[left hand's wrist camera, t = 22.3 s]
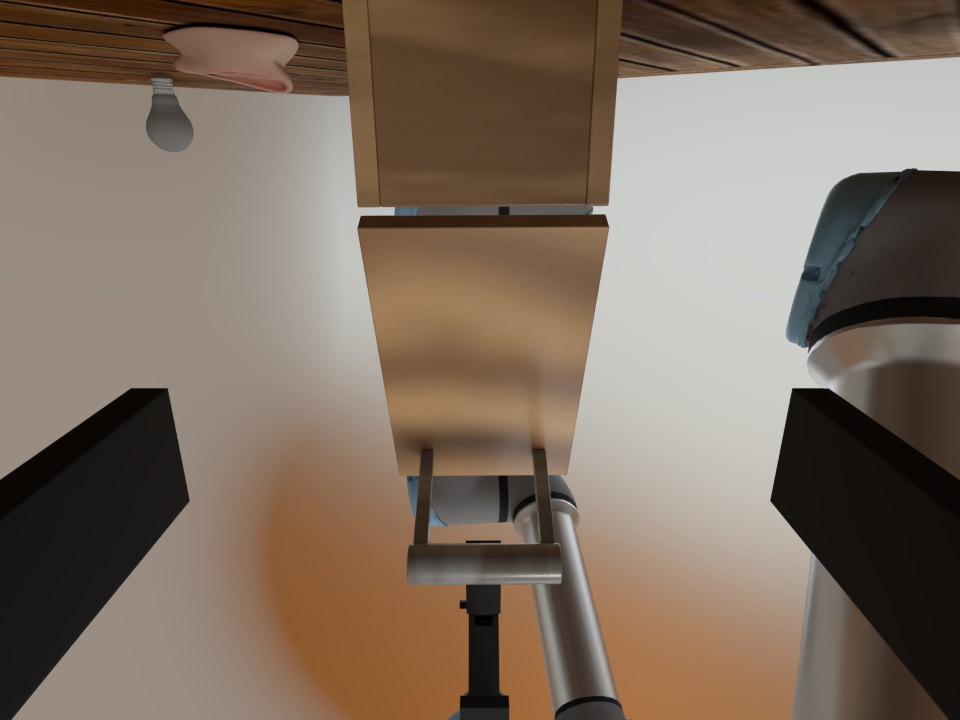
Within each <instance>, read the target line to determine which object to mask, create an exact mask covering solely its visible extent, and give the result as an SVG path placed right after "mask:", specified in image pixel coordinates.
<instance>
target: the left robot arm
mask: <svg viewBox="0 0 960 720" xmlns="http://www.w3.org/2000/svg"><path fill="white" fill-rule="evenodd" d="M786 337H787V339H788V340H789V341H790V342H792V343H796V344H798V345H799V346H801V347H802V348H806V347H809V350H808V357H807V367H808V371H809V374H810V376H811V377H812V378H813V380H814V381H815V382H816V383H817V384H818V385H819V386H820V387H822V388H793V389H792V393H791V398H790V403H789V408H788V413H787V419H786V423H785V429H784V434H783V439H782V444H781V449H780V454H779V459H778V464H777V469H776V474H775V479H774V485H773V490H772V495H771V500H770V501H771V502H772V504H773V505H774V506H775V507H776V508H777V510H778V511H779V512H780V513H781V515H782V516H783V517H784V518H785V520H786V521H787V522H788V523H789V524H790V526H791V527H792V528H793V529H794V531H795V532H796V533H797V534H798V536H799V537H800V538H801V539H802V540H803V542H804V543H805V544H806V545H807V546H808V548H809V549H810V550H811V551H812V553H811V562H810V571H809V579H808V587H807V595H806V604H805V612H804V621H803V629H802V637H801V646H800V654H799V662H798V671H797V679H796V688H795V696H794V704H793V713H792V720H960V172H958V171H922V170H917V169H914V168H912V169H906V170H904V171H902V172H881V173H858V174H855V175H852V176H849V177H847V178H845V179H843V180H841V181H839V182H838V183H837V184H836V185H835V186H834V187H833V188H832V190H831V191H830V193H829V194H828V196H827V198H826V201H825V204H824V206H823V209H822V211H821V214H820V217H819V220H818V223H817V226H816V229H815V232H814V235H813V238H812V241H811V244H810V247H809V251H808V254H807V257H806V261H805V265H804V271H803V273H802V275H801V278H800V282H799V285H798V288H797V290H796V294H795V297H794V301H793V304H792V308H791V312H790V316H789V320H788V324H787V329H786ZM189 501H190V500H189V495H188V490H187V485H186V480H185V474H184V469H183V464H182V459H181V454H180V449H179V444H178V439H177V434H176V429H175V423H174V418H173V413H172V408H171V403H170V398H169V393H168V389H167V388H131V389H130V390H128V391H127V392H125V393H124V394H122V395H121V396H119V397H118V398H117V399H115V400H114V401H112V402H111V403H109V404H108V405H107V406H105V407H104V408H102V409H101V410H99V411H98V412H97V413H95V414H94V415H92V416H91V417H89V418H88V419H87V420H85V421H84V422H82V423H81V424H79V425H78V426H77V427H75V428H74V429H72V430H71V431H69V432H68V433H67V434H65V435H64V436H62V437H61V438H59V439H58V440H56V441H55V442H54V443H52V444H51V445H49V446H48V447H47V448H45V449H44V450H42V451H41V452H39V453H38V454H36V455H35V456H34V457H32V458H31V459H29V460H28V461H27V462H25V463H24V464H22V465H21V466H19V467H18V468H16V469H15V470H14V471H12V472H11V473H9V474H8V475H6V476H5V477H4V478H2V479H1V480H0V720H12V718H13V717H14V716H15V715H16V713H17V712H18V711H19V710H20V709H21V707H22V706H23V705H24V704H25V702H26V701H27V700H28V699H29V697H30V696H31V695H32V694H33V693H34V691H35V690H36V689H37V688H38V686H39V685H40V684H41V683H42V682H43V680H44V679H45V678H46V677H47V675H48V674H49V673H50V672H51V670H52V669H53V668H54V667H55V666H56V664H57V663H58V662H59V661H60V659H61V658H62V657H63V656H64V654H65V653H66V652H67V651H68V650H69V648H70V647H71V646H72V645H73V644H74V642H75V641H76V640H77V639H78V637H79V636H80V635H81V634H82V632H83V631H84V630H85V629H86V627H87V626H88V625H89V624H90V623H91V621H92V620H93V619H94V618H95V617H96V615H97V614H98V613H99V611H100V610H101V609H102V608H103V607H104V605H105V604H106V603H107V602H108V601H109V599H110V598H111V597H112V596H113V594H114V593H115V592H116V591H117V590H118V588H119V587H120V586H121V585H122V583H123V582H124V581H125V580H126V578H127V577H128V576H129V575H130V574H131V572H132V571H133V570H134V569H135V567H136V566H137V565H138V564H139V562H140V561H141V560H142V559H143V558H144V556H145V555H146V554H147V553H148V551H149V550H150V549H151V548H152V547H153V545H154V544H155V543H156V542H157V540H158V539H159V538H160V537H161V535H162V534H163V533H164V532H165V531H166V529H167V528H168V527H169V526H170V524H171V523H172V522H173V521H174V520H175V518H176V517H177V516H178V515H179V513H180V512H181V511H182V510H183V509H184V507H185V506H186V505H187V504H188V502H189Z"/></svg>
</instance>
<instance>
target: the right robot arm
mask: <svg viewBox="0 0 960 720" xmlns="http://www.w3.org/2000/svg"><path fill="white" fill-rule="evenodd" d="M592 213H593V207H592V206H587V205H585V206H490V207H395V216H417V215H592ZM548 478H549V487H550V497H551V507H552V517H553V526H554V536H555V543H559V545H560V548H561V555H562V581H561V584H531V587H532V593H533V599H534V604H535V610H536V616H537V622H538V628H539V633H540V639H541V645H542V651H543V657H544V662H545V668H546V674H547V680H548V686H549V691H550V697H551V703H552V709H553V715H554V719H555V720H626V718H625V716H624V713H623V710H622V706H621V703H620V699H619V695H618V691H617V688H616V684H615V680H614V676H613V672H612V668H611V664H610V660H609V657H608V653H607V649H606V645H605V641H604V637H603V634H602V630H601V626H600V622H599V618H598V614H597V610H596V607H595V603H594V599H593V595H592V591H591V587H590V583H589V580H588V576H587V572H586V568H585V564H584V560H583V556H582V553H581V549H580V545H579V541H578V537H577V533H576V527H577V526H578V523H579V514H578V510H577V507H576V503H575V500H574V497H573V495H572V493H571V491H570V489H569V488H568V486H567V485H566V483H565V481H564V480H563V478H562V477H561V476H560V475H548ZM418 480H419V476H407V486H408V493H409V498H410V503H411V508H412V511H413V514H414V517H415V516H416V504H417V492H418ZM498 522H513V523H514V529H515V532H516V533H517V535H518V536H519V537H520V538H522V539H523V541H524V543H539V532H538V520H537V507H536V495H535V483H534V475H468V476H433V486H432V502H431V518H430V526H442V527H447V526H448V525H459V524H479V523H498ZM466 543H501V541H466ZM500 600H501V585H466V600H460V609H467V614H469V691H468V692H467V693H465V694H464V696H460V710H459V711H457V712H456V713H454V714H453V715H452V716H451V717H450V718H448V720H509V696H504V694H503V693H501V692H500V690H499V628H498V614H500ZM629 720H631V719H629Z"/></svg>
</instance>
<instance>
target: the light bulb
mask: <svg viewBox="0 0 960 720" xmlns="http://www.w3.org/2000/svg"><path fill="white" fill-rule="evenodd" d="M151 80H152V81H153V82H151V83H153V87H154V89H153V96H152V108H151V111H150V113H149V116H148V119H147V122H146V130H147V133H148V136H149V137H150V139H151V140H152V141H153V143H154V144H156V145H157V146H158V147H159V148H161V149H163V150H165V151H169V152H179V151H182V150H184V149H186V148H187V147H188V146H189V145H190V143H191V141H192V139H193V134H194V131H193V127H192V124H191V122H190V120H189V119H188V117H187V116H186V115H185V113H184V112H183V110H182V109H181V107H180V106H179V102H178V99H177V97H176V96H175V94H174V90H172V89H173V87H172V85H173V84H171V82H172V79H170V78H168V77H166V76H164V75H156V76H155V77H153V78H151Z"/></svg>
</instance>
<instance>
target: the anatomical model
mask: <svg viewBox="0 0 960 720" xmlns="http://www.w3.org/2000/svg"><path fill="white" fill-rule="evenodd" d="M163 38H164V39H165V40H166V41H167V42H169V43H170V44H171V45H173V46H174V47H175V48H177V49H178V50H179V52H180V55H179V56H178V57H177V58H175V60H174V67H175V69H176V70H178V71H181V72H187V73H195V74H201V75H205V76H209V77H213V78H217V79H222V80H226V81H231V82H235V83H239V84H243V85H247V86H251V87H255V88H258V89H262V90H266V91H271V92H275V93H289V92H291V91H292V88H293V84H292V81H291V78H290V76H289V75H288V74H287V72H286V71H285V65H286V64H287V62H288V61H289V60H290V59H291V58H292V57H293V56H294V55H295V53H296V52H297V50H298V46H299V45H298V42H297V41H296V40H295V39H294V38H292V37H289V36H286V35H281V34H277V33H270V32H262V31H254V30H245V29H235V28H223V27H208V26H195V27H186V28H180V29H176V30H173V31H169V32H167V33H165V34H163Z"/></svg>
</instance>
